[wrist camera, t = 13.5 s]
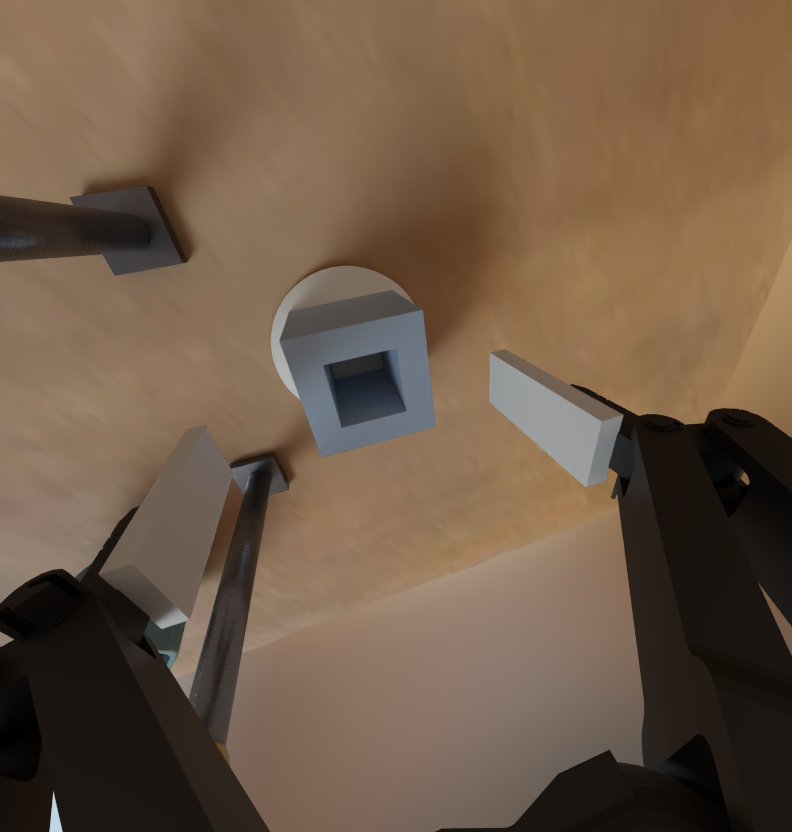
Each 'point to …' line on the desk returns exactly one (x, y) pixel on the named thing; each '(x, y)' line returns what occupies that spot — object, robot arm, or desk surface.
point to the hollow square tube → (367, 392)
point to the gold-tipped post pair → (256, 477)
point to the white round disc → (325, 290)
